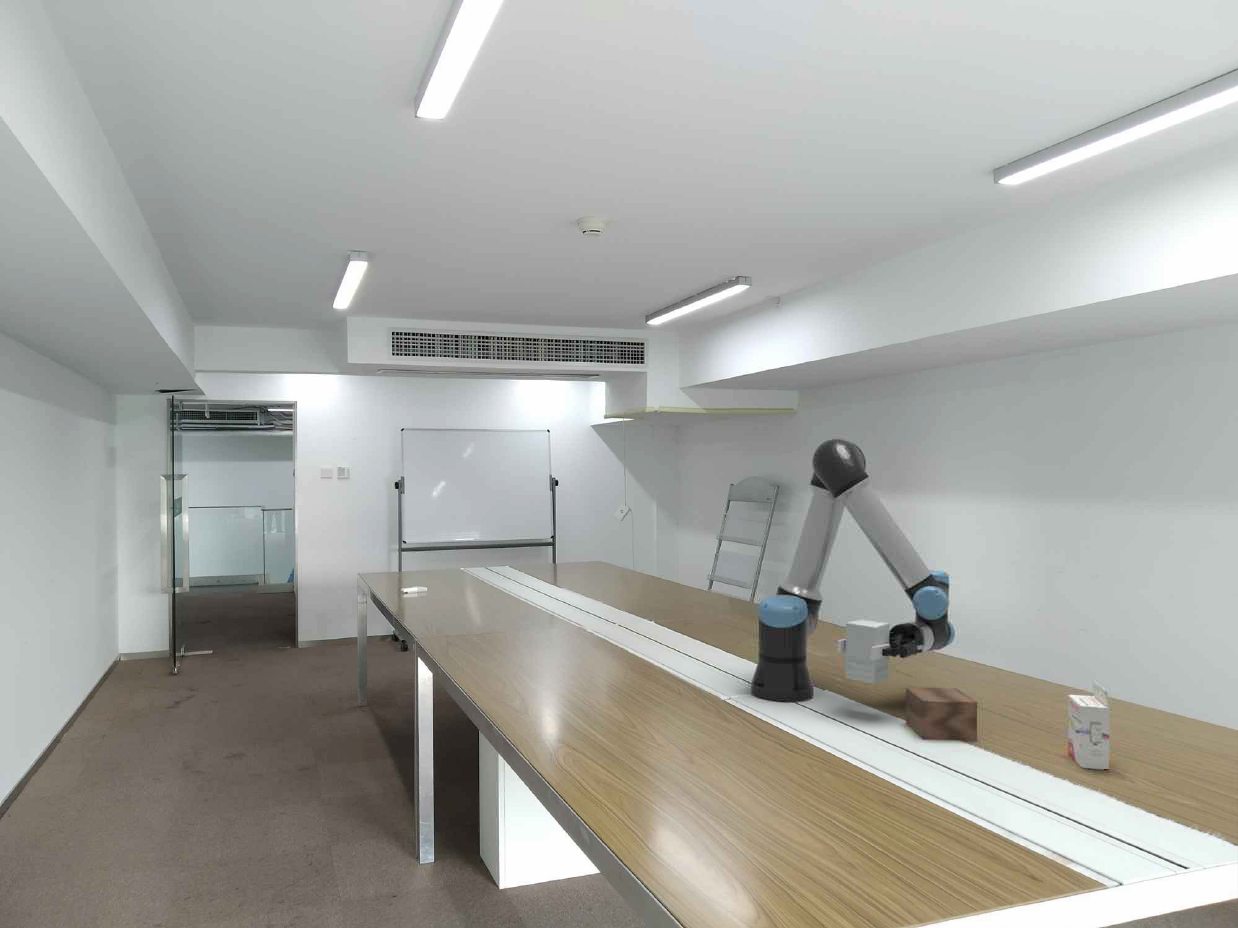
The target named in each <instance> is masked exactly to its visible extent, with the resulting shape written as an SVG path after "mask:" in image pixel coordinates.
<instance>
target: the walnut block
mask: <svg viewBox="0 0 1238 928" xmlns="http://www.w3.org/2000/svg"><path fill="white" fill-rule="evenodd" d="M905 693H906V694H905V697H906V698H905V724H906V725H907V726H908V727H909V728H910V729H911V730H912V731H913V732H914V733H916V734H917V736H919V737H920V738H921V739H922V740H934V741H936V740H941V741H978V702H977V701H976V700H974V699H973V698H971V697H970V696H968V695H967V694H966V693H964V692H963V691H961V690H960V689H958V688H957V687H956V688H953V687H952V688H951V687H947V688H946V687H944V688H943V687H906V688H905Z"/></svg>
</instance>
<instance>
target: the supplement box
mask: <svg viewBox="0 0 1238 928" xmlns="http://www.w3.org/2000/svg"><path fill="white" fill-rule="evenodd" d="M890 629H891V627H890V623H888V622H880V621H874V620H867V619H862V618H860V619H857V620H852V621H849V622H845V639H846V650H845V652H844V653H845V654H844V655H845V657H844V658H845V659H844V663H845V664H844V678H845V679H849V680H853V681H854V680H855V681H859V682H864V683H869V684H871V685H873V684H879V683H881V682H884V681H886V680H888V679H889V669H890V668H889V667H890V664H889V662H890V661H889V660H890V657H885V658H881V659H876V660H871V659H870V656H871V647H874V646H879V645H883V644H889V631H890Z"/></svg>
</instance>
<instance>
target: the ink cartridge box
mask: <svg viewBox="0 0 1238 928" xmlns="http://www.w3.org/2000/svg"><path fill="white" fill-rule="evenodd" d="M1092 688H1093V689H1092V690H1093V695H1081V694H1080V695H1077V694H1068V735H1067V736H1068V741H1067V743H1068V748H1067V750H1068V751H1067V753H1068V754H1069V756H1070V757H1071V758H1072V759H1073V760H1074V761H1075V762H1076V764H1078V766H1079V767H1080V768H1082V767H1083V768H1082V769H1089V768H1090V769H1091V770H1104V769H1109V770H1110V703H1109V693H1108V690H1107V689H1106V688H1104V687H1102V685H1100V684H1099V683H1097V682H1096V681H1095V680H1093V681H1092ZM1099 692H1100V693H1101V694H1100V693H1099ZM1090 769H1089V770H1090Z"/></svg>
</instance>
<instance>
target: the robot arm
mask: <svg viewBox="0 0 1238 928" xmlns="http://www.w3.org/2000/svg"><path fill="white" fill-rule="evenodd" d="M866 462H867V460H866V456H865V454H864V452H863V451H862V449H861V447H859V446H858V445H857V444H855V443H854V442H851V441H849V440H844V439H841V438H832V439H828V440H827V441H824V442H822V443H821V444H820V445H819V446H817V447H816V449H815V450H814V453H813V455H812V469H813V473H812V477H811V480H810V483H809V487H810V488H811V489H812V490H811V491H812V492H813V494H812V496H811V501H810V503H809V507H808V510H807V513H806V516H805V520H804V523H803V526H802V529H801V532H800V535H799V540H798V543H797V546H796V549H795V552H794V556H793V558H792V563H791V566H790V569H789V572H788V575H787V578H786V580H784V581H782V582H780V583H779V584H778V587H777V591H776V594H775V595H772V596H767V597H764V598H763V599H762V600H761V601H760V602H759V607H758V662H757V665H756V667H755V670H754V673H753V677H752V679H751V684H750V692H751V694H752V695H753V696H755V697H758V698H761V699H764V700H770V701H775V702H777V701H778V702H802V701H808V700H810V699H812V698H813V697H814V696H815V695H814V690H815V689H814V683H813V680H812V678H811V674H810V671H809V668H808V664H807V662H808V661H807V658H808V657H807V648H808V647H807V646H808V645H807V644H808V641H807V639H808V637H809V636H810V635H812V633H813V632H814V631H815V629H816V628H817V625H818V623H819V612H820V609H821V605H822V603H823V599H824V598H823V596H822V593H821V592H820V589H821V585H822V582H823V579H824V576H825V572H826V570H827V569H826V568H827V566H828V564H829V563H828V562H829V559H830V556H831V553H832V549H833V547H834V543H835V540H836V537H837V533H838V530H839V527H840V524H841V521H842V517H843V513H844V511H845V508H846V509H847V511H848V513H849V514H850V515H851V516H852V519H854V521H855V522H856V524H857V525H858V527H859V528H860V529H861V531H862V532H863V534H864V535H865V537H866V538H867V540H868V541H869V542H870V544H871V545H872V546H873V549H874V550H875V551H876V552H877V554H878V555H879V556H880V558H881V559H882V561H883V562H884V564H885V566H886V567H887V568H888V570H889V571H890V572H891V574H892V575H893V577H894V578H895V579H896V581H897V583H898V584H899V586H901V588H902V590H903V591H904V593H905V594H906V596H907V598H909V600H910V602H911V603H912V606H913V610H915V620H914V621H909V622H905V623H899V624H896V625H894V626H893V627H890V629H889V644H883V645H879V646H874V647H871V656H870V659H871V660H876V659H881V658H885V657H889V658H890V657H893V658H894V657H895V658H896V657H898V656H899V658H902V659H906V658H908V657H911V656H918V655H919V654H922V653H926V652H930V651H931V652H932V651H937V650H941V649H945V648H946V647H948V646H950V645H951V644H952V643H953V641H954V639H955V636H956V630H955V628H954V625H953V624H952V623H951V621H949V617H948V616H949V614H948V612H949V605H950V601H949V600H950V599H949V595H950V576H949V574H948V573H947V572H946V571H943V570H941V571H940V570H934V569H933V570H932V569H929V567H928V566H927V565H926V564H925V562H924V561H923V559H922V558H921V556H920V555H919V553H918V552H917V551H916V549H915V548H914V546H913V545H912V544H911V542H910V541H909V540H908V537H906V535H905V533H904V532H903V531H902V529H901V528H900V526H899V525H898V523H897V522H896V520H895V519H894V517H892V515H891V513H890V512H889V511H888V509H887V508H886V507H885V504H883V502H882V501H881V499H880V498H879V497H878V495H877V494H876V492H875V491H874V490H873V488H872V486H871V484H870V481H871V477H870V476H869V475H868V473H867V471H866V468H867V464H866ZM845 650H846V638H842V639H838V640H837V653H845Z"/></svg>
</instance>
